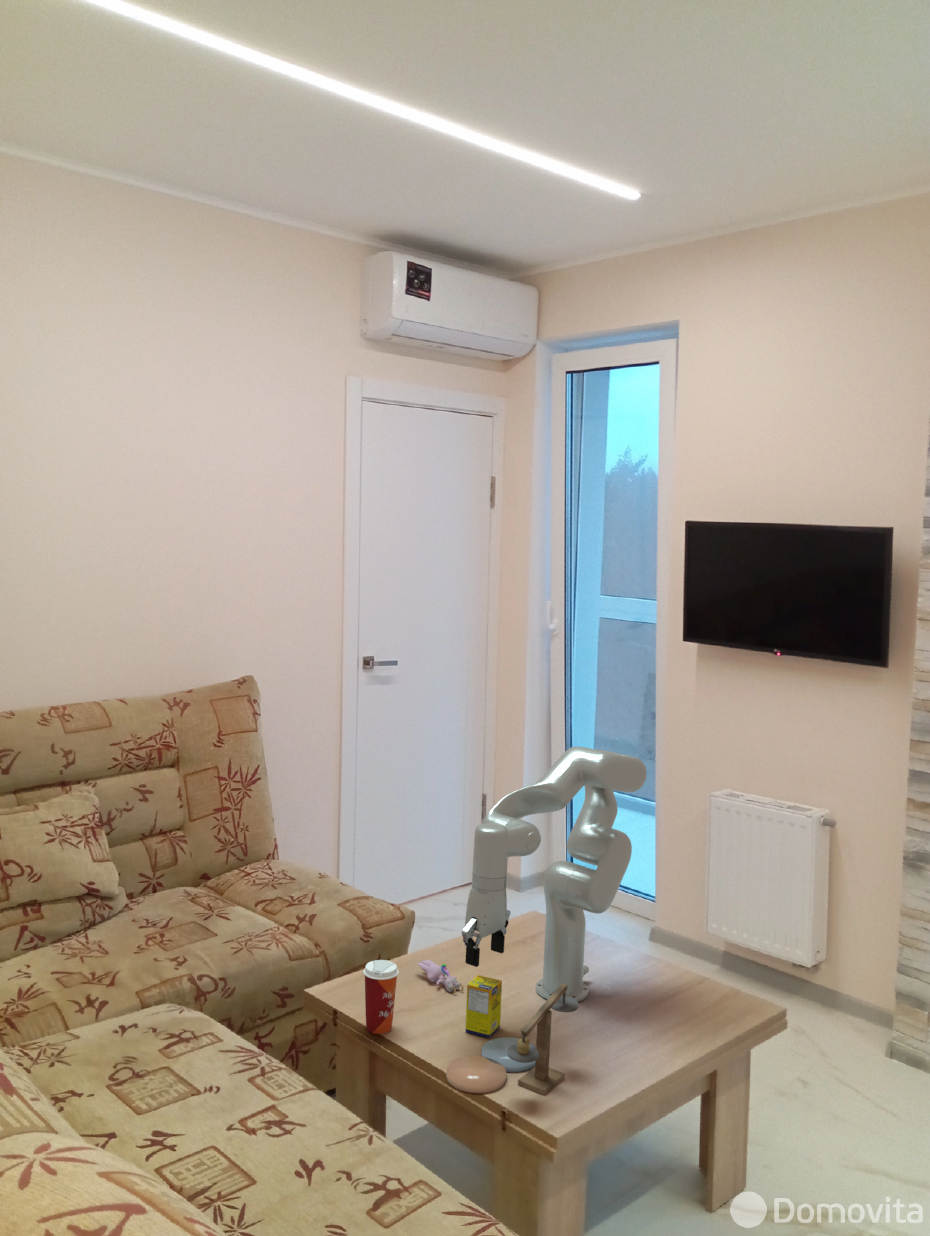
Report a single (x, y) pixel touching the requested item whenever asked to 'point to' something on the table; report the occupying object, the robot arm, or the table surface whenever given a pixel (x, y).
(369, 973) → the paper cup
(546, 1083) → the balance
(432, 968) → the lilac plush figure
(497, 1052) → the blue-grey flat disc
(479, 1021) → the supplement box
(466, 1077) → the peach flat disc
